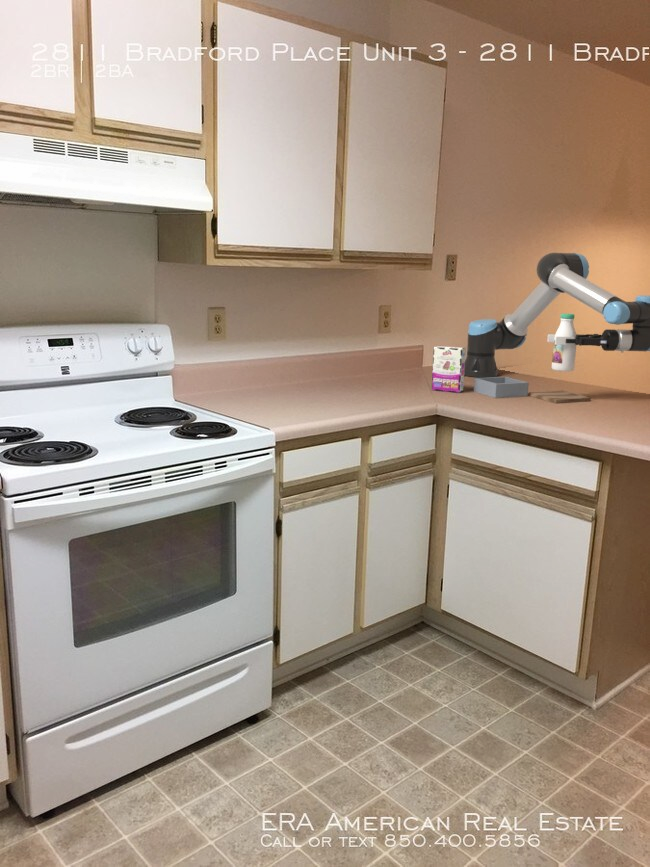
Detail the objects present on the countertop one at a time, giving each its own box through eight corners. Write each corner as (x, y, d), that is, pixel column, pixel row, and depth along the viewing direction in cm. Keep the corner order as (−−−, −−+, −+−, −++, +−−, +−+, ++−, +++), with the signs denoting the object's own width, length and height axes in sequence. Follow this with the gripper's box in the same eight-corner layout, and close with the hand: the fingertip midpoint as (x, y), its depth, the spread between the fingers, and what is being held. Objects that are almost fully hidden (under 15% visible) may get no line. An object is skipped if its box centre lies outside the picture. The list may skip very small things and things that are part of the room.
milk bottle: (571, 369, 263) (576, 313, 258) (576, 372, 255) (581, 314, 251) (549, 368, 264) (554, 312, 259) (553, 371, 256) (558, 314, 251)
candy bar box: (463, 391, 273) (466, 347, 269) (459, 393, 268) (462, 348, 265) (435, 388, 278) (437, 345, 274) (430, 390, 273) (433, 346, 270)
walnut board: (528, 395, 266) (529, 392, 266) (562, 393, 272) (562, 390, 271) (555, 403, 253) (556, 399, 252) (590, 401, 258) (590, 397, 258)
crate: (473, 391, 273) (474, 378, 272) (504, 389, 278) (505, 376, 277) (495, 398, 260) (496, 384, 259) (527, 396, 265) (528, 382, 264)
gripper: (626, 354, 248) (560, 353, 248) (602, 347, 268) (541, 346, 268) (629, 332, 247) (562, 331, 246) (604, 327, 267) (543, 326, 266)
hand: (551, 339), depth 257 cm, fingers closed on milk bottle, 7 cm apart
